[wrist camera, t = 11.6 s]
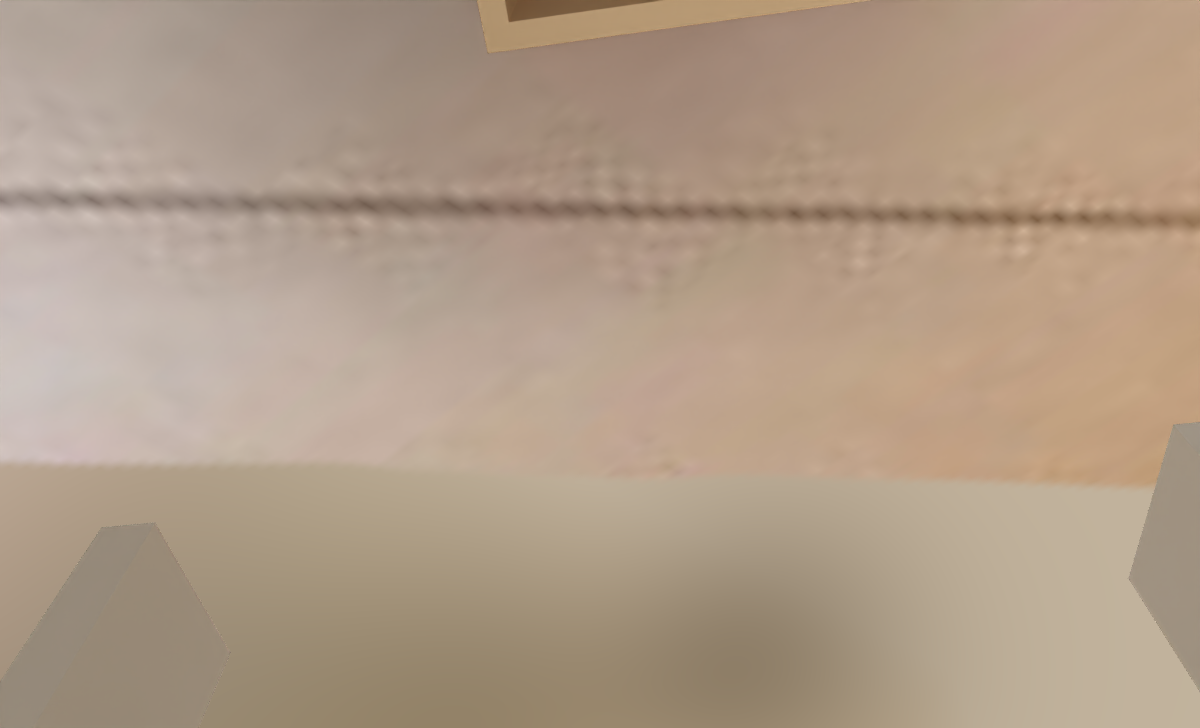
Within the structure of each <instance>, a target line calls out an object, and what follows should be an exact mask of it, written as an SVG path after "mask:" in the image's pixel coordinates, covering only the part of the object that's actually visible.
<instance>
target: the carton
mask: <svg viewBox="0 0 1200 728" xmlns="http://www.w3.org/2000/svg"><path fill="white" fill-rule="evenodd" d="M862 1H869V0H477V3H478V8H479V13H480V18H481V23H482V28H483V33H484V38H485V42H486V47H487V52H488V53H495V52H502V51H509V50H516V49H524V48H531V47H538V46H545V45H552V44H560V43H567V42H574V41H581V40H588V39H596V38H603V37H610V36H617V35H624V34H632V33H639V32H646V31H653V30H660V29H668V28H675V27H682V26H689V25H696V24H704V23H711V22H718V21H725V20H732V19H740V18H747V17H754V16H761V15H769V14H776V13H783V12H790V11H797V10H805V9H812V8H819V7H826V6H833V5H841V4H848V3H855V2H862Z"/></svg>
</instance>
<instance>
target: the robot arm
mask: <svg viewBox="0 0 1200 728" xmlns="http://www.w3.org/2000/svg"><path fill="white" fill-rule="evenodd" d="M1129 580H1130V582H1131V583H1132V585H1133V586H1134V588H1135V589H1136V591H1137V593H1138V594H1139V596H1140V597H1141V599H1142V601H1143V602H1144V604H1145V605H1146V607H1147V608H1148V610H1149V612H1150V613H1151V615H1152V616H1153V618H1154V620H1155V621H1156V623H1157V624H1158V626H1159V628H1160V629H1161V631H1162V632H1163V634H1164V635H1165V637H1166V639H1167V640H1168V642H1169V643H1170V645H1171V647H1172V648H1173V650H1174V651H1175V653H1176V654H1177V656H1178V658H1179V659H1180V661H1181V662H1182V664H1183V666H1184V667H1185V669H1186V671H1187V672H1188V674H1189V675H1190V677H1191V679H1192V680H1193V681H1194V683H1195V685H1196V686H1197V688H1198V690H1199V691H1200V422H1196V423H1186V424H1175V425H1173V428H1172V431H1171V435H1170V438H1169V441H1168V445H1167V448H1166V452H1165V455H1164V459H1163V462H1162V465H1161V469H1160V472H1159V476H1158V479H1157V483H1156V486H1155V490H1154V493H1153V496H1152V500H1151V503H1150V507H1149V510H1148V514H1147V517H1146V521H1145V524H1144V527H1143V531H1142V535H1141V538H1140V542H1139V545H1138V548H1137V552H1136V555H1135V558H1134V562H1133V565H1132V569H1131V572H1130V576H1129ZM229 655H230V651H229V649H228V647H227V645H226V644H225V642H224V640H223V638H222V637H221V635H220V633H219V632H218V630H217V629H216V627H215V625H214V623H213V621H212V620H211V618H210V616H209V614H208V613H207V611H206V609H205V608H204V606H203V604H202V602H201V601H200V599H199V597H198V596H197V594H196V592H195V590H194V589H193V587H192V585H191V583H190V582H189V580H188V578H187V577H186V575H185V573H184V571H183V570H182V568H181V566H180V564H179V563H178V561H177V559H176V558H175V556H174V554H173V553H172V551H171V549H170V547H169V546H168V544H167V542H166V540H165V539H164V537H163V535H162V533H161V532H160V530H159V528H158V527H157V525H156V523H144V524H133V525H123V526H113V527H102V528H101V529H100V531H99V532H98V534H97V535H96V537H95V538H94V540H93V541H92V543H91V545H90V546H89V547H88V549H87V550H86V552H85V553H84V555H83V557H82V558H81V559H80V561H79V562H78V564H77V565H76V567H75V568H74V570H73V572H72V573H71V575H70V576H69V578H68V579H67V581H66V582H65V584H64V585H63V587H62V588H61V590H60V591H59V593H58V594H57V596H56V598H55V599H54V601H53V602H52V604H51V605H50V606H49V608H48V609H47V611H46V612H45V614H44V615H43V617H42V619H41V620H40V622H39V623H38V625H37V626H36V628H35V629H34V631H33V632H32V634H31V635H30V637H29V638H28V640H27V641H26V643H25V644H24V646H23V647H22V649H21V650H20V652H19V653H18V655H17V656H16V658H15V660H14V661H13V662H12V664H11V666H10V667H9V669H8V670H7V672H6V673H5V675H4V676H3V678H2V679H1V681H0V728H199V725H200V723H201V721H202V718H203V716H204V714H205V711H206V709H207V707H208V704H209V702H210V699H211V697H212V695H213V693H214V690H215V688H216V685H217V683H218V681H219V678H220V676H221V674H222V671H223V669H224V667H225V664H226V662H227V660H228V657H229Z"/></svg>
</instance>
